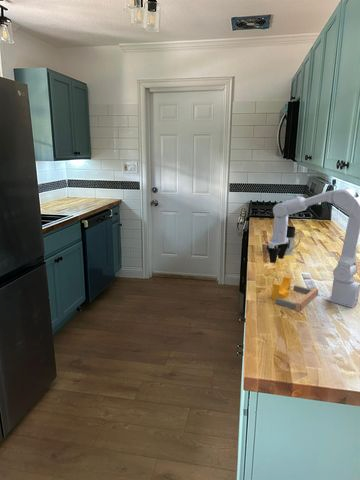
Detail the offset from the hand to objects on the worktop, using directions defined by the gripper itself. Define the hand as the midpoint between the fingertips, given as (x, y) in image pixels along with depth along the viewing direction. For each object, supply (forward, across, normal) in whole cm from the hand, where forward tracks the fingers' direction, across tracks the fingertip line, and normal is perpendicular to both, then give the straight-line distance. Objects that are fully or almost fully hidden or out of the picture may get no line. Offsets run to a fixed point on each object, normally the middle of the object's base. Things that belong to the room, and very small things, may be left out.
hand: (276, 260), depth 149 cm
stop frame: (+10, +11, +15) cm, 21 cm away
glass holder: (+10, -46, -13) cm, 49 cm away
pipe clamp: (+10, +11, +9) cm, 18 cm away
